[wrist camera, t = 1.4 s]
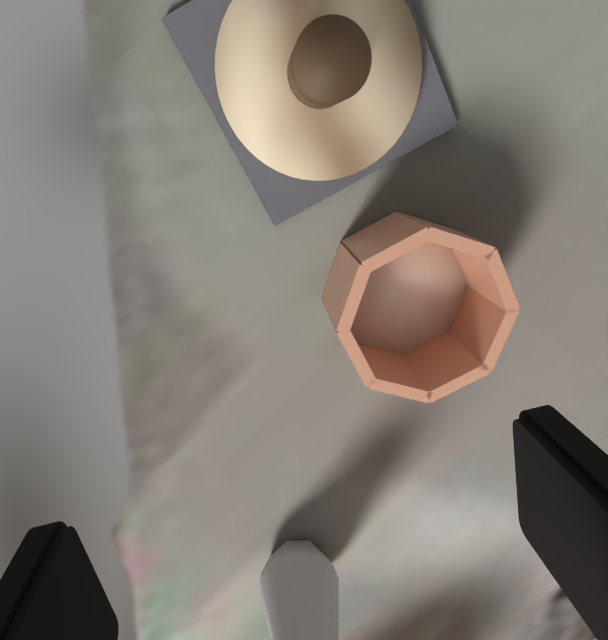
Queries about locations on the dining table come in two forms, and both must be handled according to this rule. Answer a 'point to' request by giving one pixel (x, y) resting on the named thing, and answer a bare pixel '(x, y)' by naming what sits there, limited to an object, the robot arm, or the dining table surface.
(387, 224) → the bowl
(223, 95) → the lid
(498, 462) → the dining table surface
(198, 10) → the mat
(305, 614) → the salt shaker
